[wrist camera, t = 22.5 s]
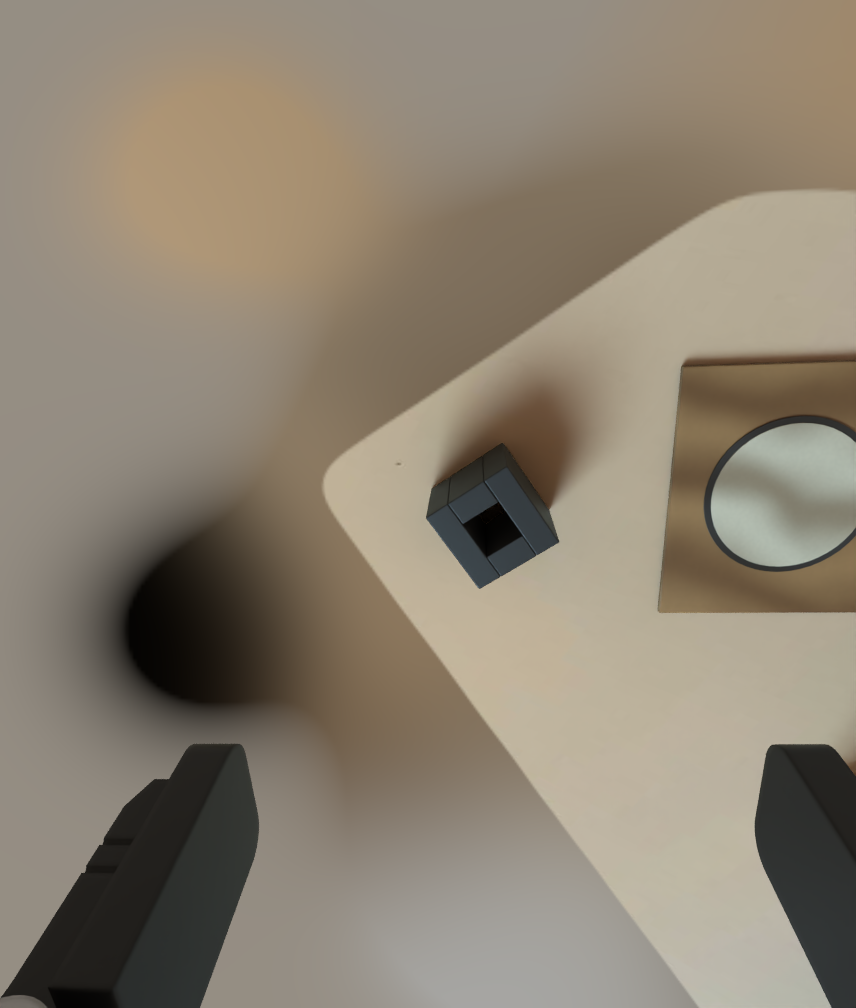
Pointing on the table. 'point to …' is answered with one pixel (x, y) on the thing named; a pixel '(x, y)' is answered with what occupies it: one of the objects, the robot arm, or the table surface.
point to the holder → (505, 536)
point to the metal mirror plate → (762, 490)
